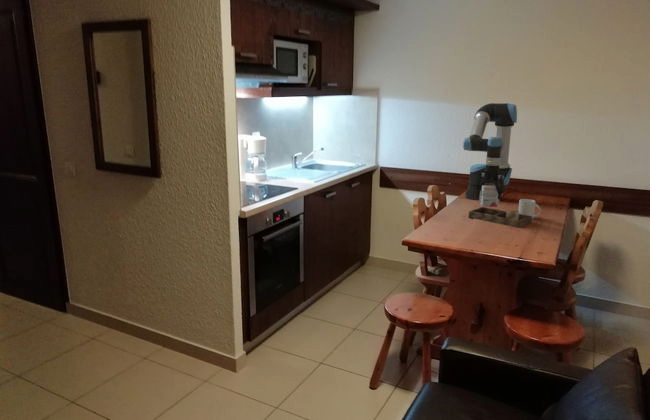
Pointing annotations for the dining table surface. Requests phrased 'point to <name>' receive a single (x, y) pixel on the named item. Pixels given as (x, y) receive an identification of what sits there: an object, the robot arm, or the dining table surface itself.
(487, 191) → the ink box
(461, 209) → the dining table surface
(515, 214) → the beech block
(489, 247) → the dining table surface
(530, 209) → the mug
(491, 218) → the storage box
